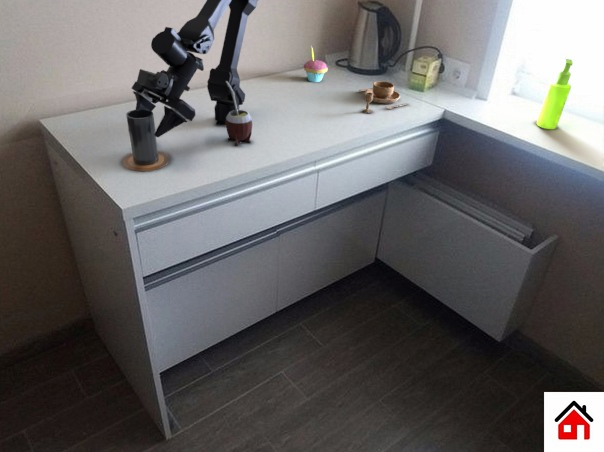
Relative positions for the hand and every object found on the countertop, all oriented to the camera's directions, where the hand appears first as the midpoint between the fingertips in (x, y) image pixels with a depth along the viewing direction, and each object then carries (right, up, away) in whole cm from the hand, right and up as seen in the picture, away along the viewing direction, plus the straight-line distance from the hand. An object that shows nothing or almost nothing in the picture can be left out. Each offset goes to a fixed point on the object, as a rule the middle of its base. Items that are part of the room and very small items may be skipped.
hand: (145, 130), depth 119 cm
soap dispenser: (+115, +9, +37) cm, 121 cm away
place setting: (+62, +19, +48) cm, 80 cm away
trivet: (-1, -7, +4) cm, 8 cm away
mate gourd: (+20, 0, +16) cm, 26 cm away
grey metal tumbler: (-1, -7, +4) cm, 8 cm away
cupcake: (+43, +30, +62) cm, 81 cm away
